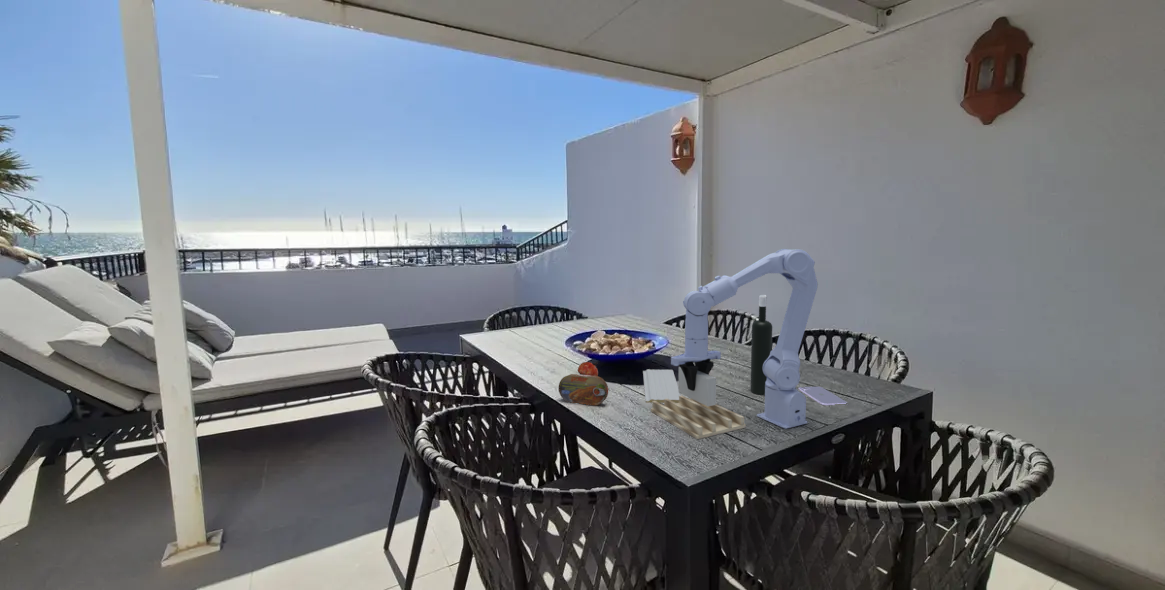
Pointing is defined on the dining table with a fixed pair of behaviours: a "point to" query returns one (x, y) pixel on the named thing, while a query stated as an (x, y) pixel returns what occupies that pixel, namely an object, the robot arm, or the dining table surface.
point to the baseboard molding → (660, 385)
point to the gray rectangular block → (699, 388)
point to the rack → (698, 417)
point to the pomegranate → (588, 369)
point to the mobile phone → (822, 395)
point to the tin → (583, 389)
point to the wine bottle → (760, 348)
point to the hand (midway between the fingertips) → (696, 388)
